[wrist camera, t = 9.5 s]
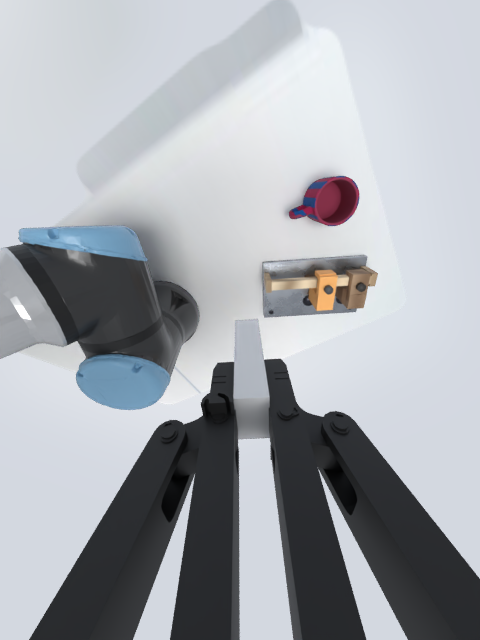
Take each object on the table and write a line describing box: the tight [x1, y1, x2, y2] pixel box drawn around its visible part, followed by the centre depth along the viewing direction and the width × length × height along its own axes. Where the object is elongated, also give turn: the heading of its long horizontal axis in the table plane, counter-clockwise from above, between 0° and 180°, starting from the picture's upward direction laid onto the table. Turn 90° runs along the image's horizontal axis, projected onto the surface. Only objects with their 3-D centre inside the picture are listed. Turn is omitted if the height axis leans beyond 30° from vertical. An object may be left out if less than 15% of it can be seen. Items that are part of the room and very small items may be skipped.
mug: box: [289, 176, 359, 226], centre depth 38 cm, size 7×10×7 cm
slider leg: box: [308, 270, 338, 311], centre depth 44 cm, size 3×8×7 cm, turn 4°
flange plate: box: [263, 255, 367, 317], centre depth 48 cm, size 20×12×1 cm, turn 94°
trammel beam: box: [264, 266, 378, 309], centre depth 44 cm, size 20×8×7 cm, turn 94°
